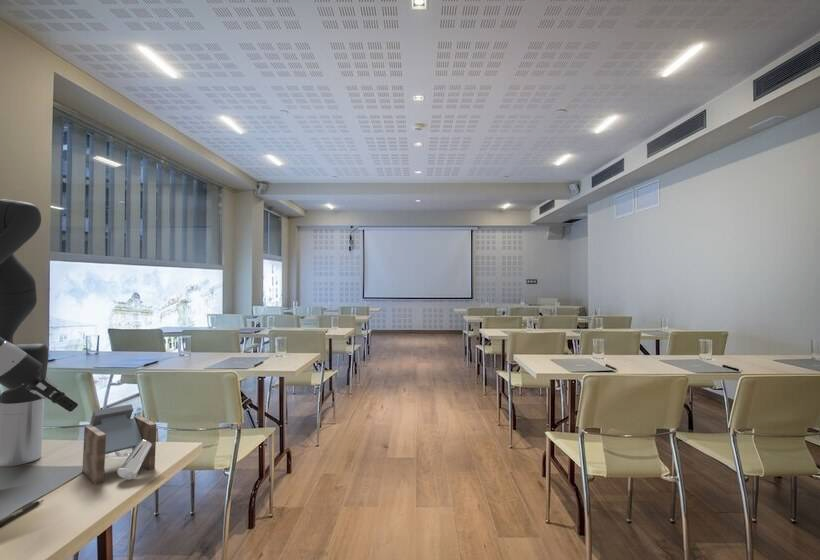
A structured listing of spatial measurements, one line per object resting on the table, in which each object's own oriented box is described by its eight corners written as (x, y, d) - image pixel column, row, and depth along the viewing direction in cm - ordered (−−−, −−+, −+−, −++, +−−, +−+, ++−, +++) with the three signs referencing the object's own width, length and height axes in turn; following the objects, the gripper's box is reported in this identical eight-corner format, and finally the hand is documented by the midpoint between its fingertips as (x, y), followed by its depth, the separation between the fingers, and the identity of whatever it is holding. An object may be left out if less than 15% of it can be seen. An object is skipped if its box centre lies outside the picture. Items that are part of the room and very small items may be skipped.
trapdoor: (88, 426, 113) (92, 410, 111) (127, 418, 120) (132, 404, 118) (98, 464, 105) (103, 448, 104) (139, 454, 113) (144, 439, 111)
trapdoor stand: (82, 470, 108) (84, 425, 109) (137, 456, 118) (139, 415, 119) (96, 484, 100) (98, 435, 101) (154, 468, 110) (156, 423, 111)
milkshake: (160, 445, 108) (136, 483, 101) (148, 448, 110) (124, 485, 103) (145, 437, 106) (120, 475, 98) (134, 440, 108) (109, 478, 101)
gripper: (31, 354, 90) (92, 397, 98) (19, 349, 99) (76, 389, 107) (-5, 382, 85) (62, 424, 94) (-13, 374, 94) (49, 413, 103)
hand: (70, 405), depth 100 cm, fingers open, 8 cm apart
